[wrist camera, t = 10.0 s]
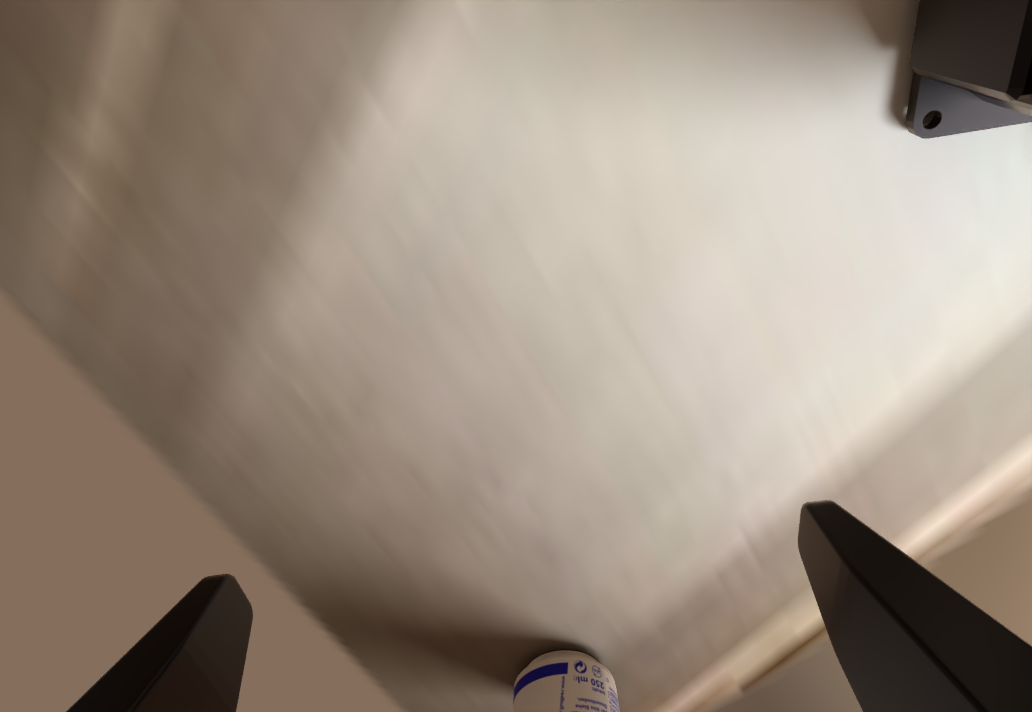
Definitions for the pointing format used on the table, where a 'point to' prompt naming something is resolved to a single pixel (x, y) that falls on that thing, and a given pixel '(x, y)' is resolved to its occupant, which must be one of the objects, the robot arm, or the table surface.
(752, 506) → the table surface
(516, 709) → the beverage can
